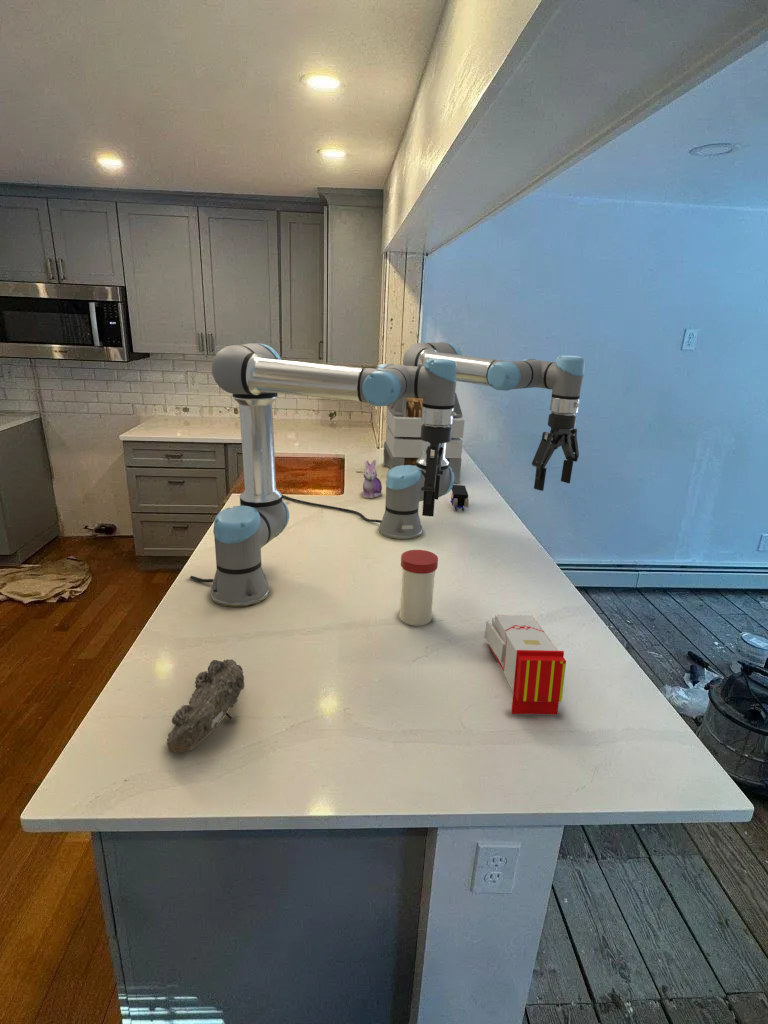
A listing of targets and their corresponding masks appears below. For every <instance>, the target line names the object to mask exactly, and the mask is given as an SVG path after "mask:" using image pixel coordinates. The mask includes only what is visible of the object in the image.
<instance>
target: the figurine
mask: <svg viewBox="0 0 768 1024" xmlns="http://www.w3.org/2000/svg"><path fill="white" fill-rule="evenodd" d="M364 462H365V463H364V465H365V470H364V472H363V477H364V481H363V482H362V493H361V494H362V496H363V498H366V499H373V498H378V497H380V496H381V495H382V491H383V486H382V485H383V484H382V482H381V480H380V478H378V477H377V476H378V473H377V470H376V465H377V460H376V459H373V460H372V462H371V463H370V462H369V460H365V461H364Z"/></svg>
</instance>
